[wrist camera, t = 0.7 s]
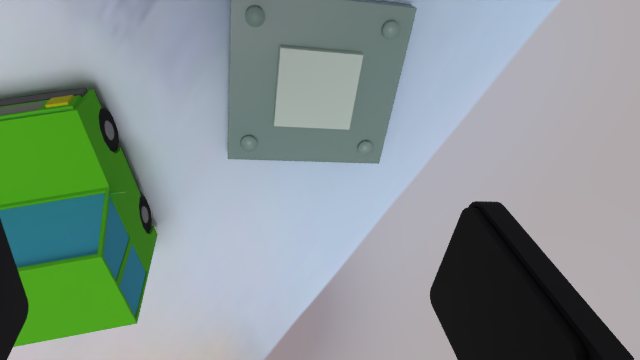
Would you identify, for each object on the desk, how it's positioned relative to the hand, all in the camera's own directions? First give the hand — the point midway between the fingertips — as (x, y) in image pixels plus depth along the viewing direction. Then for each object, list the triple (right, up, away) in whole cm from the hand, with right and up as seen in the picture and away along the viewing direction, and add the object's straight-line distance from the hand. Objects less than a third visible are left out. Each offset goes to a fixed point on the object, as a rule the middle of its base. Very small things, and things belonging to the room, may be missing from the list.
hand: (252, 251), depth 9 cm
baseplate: (+1, +9, +22) cm, 24 cm away
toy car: (-17, +3, +23) cm, 29 cm away
